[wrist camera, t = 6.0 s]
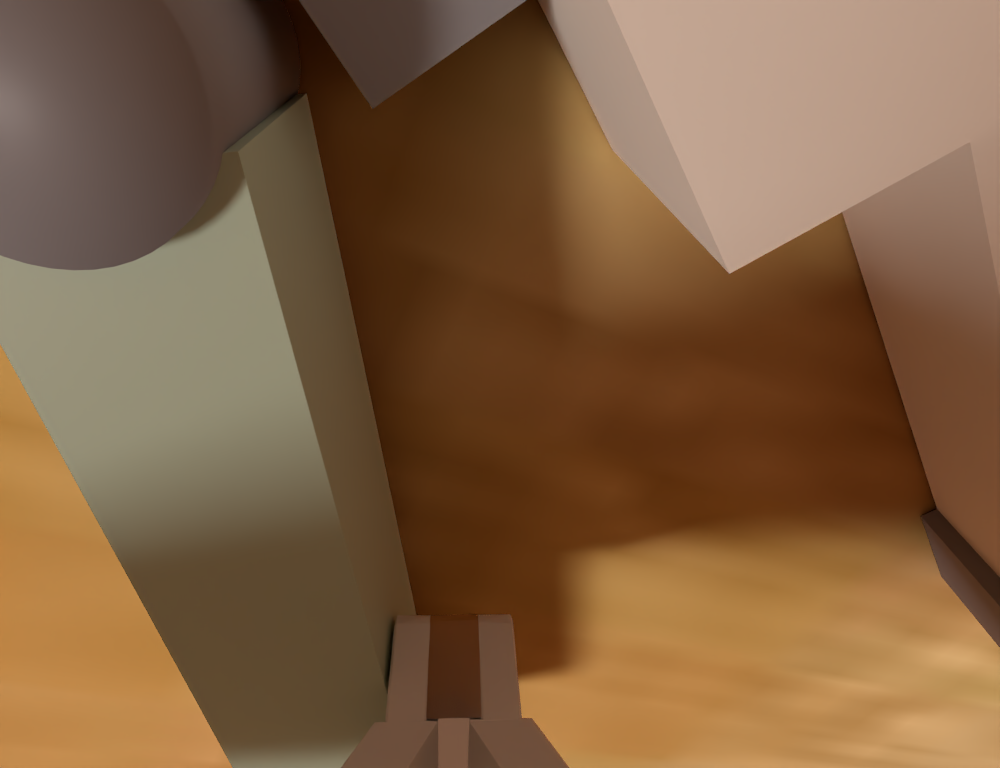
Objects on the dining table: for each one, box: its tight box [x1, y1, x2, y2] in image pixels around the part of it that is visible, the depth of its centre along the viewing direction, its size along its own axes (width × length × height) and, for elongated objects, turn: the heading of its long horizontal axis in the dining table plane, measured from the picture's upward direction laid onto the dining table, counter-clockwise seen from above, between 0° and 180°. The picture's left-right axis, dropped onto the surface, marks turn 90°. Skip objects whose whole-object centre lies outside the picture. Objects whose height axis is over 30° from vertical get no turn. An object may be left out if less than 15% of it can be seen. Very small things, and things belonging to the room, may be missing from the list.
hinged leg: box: [0, 0, 416, 768], centre depth 9 cm, size 14×2×3 cm, turn 4°
